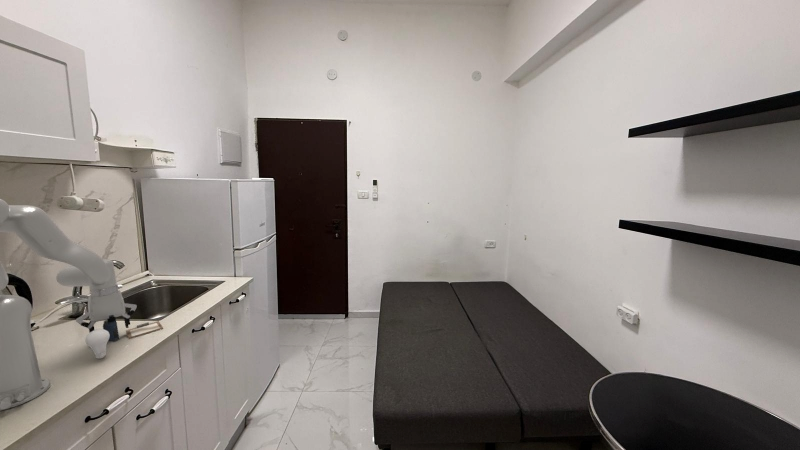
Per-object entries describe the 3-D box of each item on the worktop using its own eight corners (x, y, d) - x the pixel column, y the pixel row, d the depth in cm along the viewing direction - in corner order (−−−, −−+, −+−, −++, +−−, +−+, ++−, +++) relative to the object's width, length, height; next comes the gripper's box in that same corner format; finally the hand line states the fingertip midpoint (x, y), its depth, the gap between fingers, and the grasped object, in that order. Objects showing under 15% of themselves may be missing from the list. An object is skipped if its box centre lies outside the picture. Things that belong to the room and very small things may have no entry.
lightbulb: (101, 363, 103) (96, 334, 101) (83, 363, 103) (78, 334, 101) (117, 353, 109) (113, 325, 107) (101, 353, 109) (96, 325, 107)
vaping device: (113, 342, 116) (109, 314, 115) (103, 340, 117) (98, 312, 116) (121, 338, 119) (116, 311, 117) (111, 337, 120) (106, 310, 118)
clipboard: (163, 328, 127) (162, 325, 127) (129, 339, 119) (128, 336, 118) (158, 322, 133) (158, 319, 132) (126, 331, 124) (125, 328, 124)
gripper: (132, 282, 124) (138, 320, 126) (71, 295, 111) (79, 336, 114) (135, 287, 119) (140, 326, 122) (71, 300, 106) (79, 343, 109)
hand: (111, 331), depth 118 cm, fingers open, 9 cm apart
